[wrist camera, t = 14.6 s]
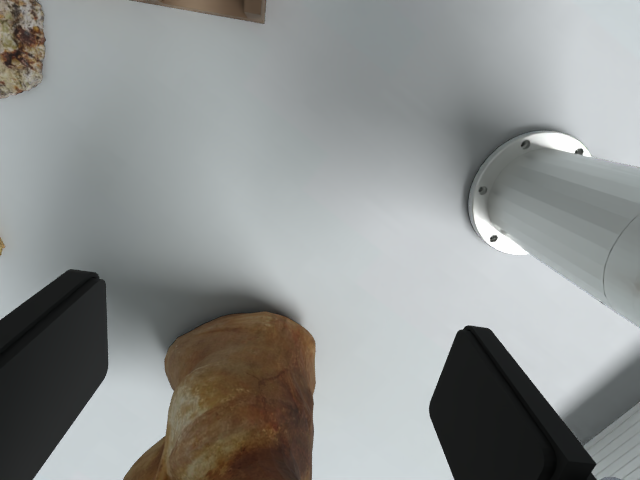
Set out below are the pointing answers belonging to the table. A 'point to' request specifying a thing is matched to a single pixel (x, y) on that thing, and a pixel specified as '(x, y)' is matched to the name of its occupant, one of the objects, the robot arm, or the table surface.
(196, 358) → the ceramic vessel
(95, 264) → the table surface
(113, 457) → the table surface
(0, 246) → the shard
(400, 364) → the table surface
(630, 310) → the robot arm
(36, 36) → the mineral rock
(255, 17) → the walnut rack
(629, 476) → the white long block
